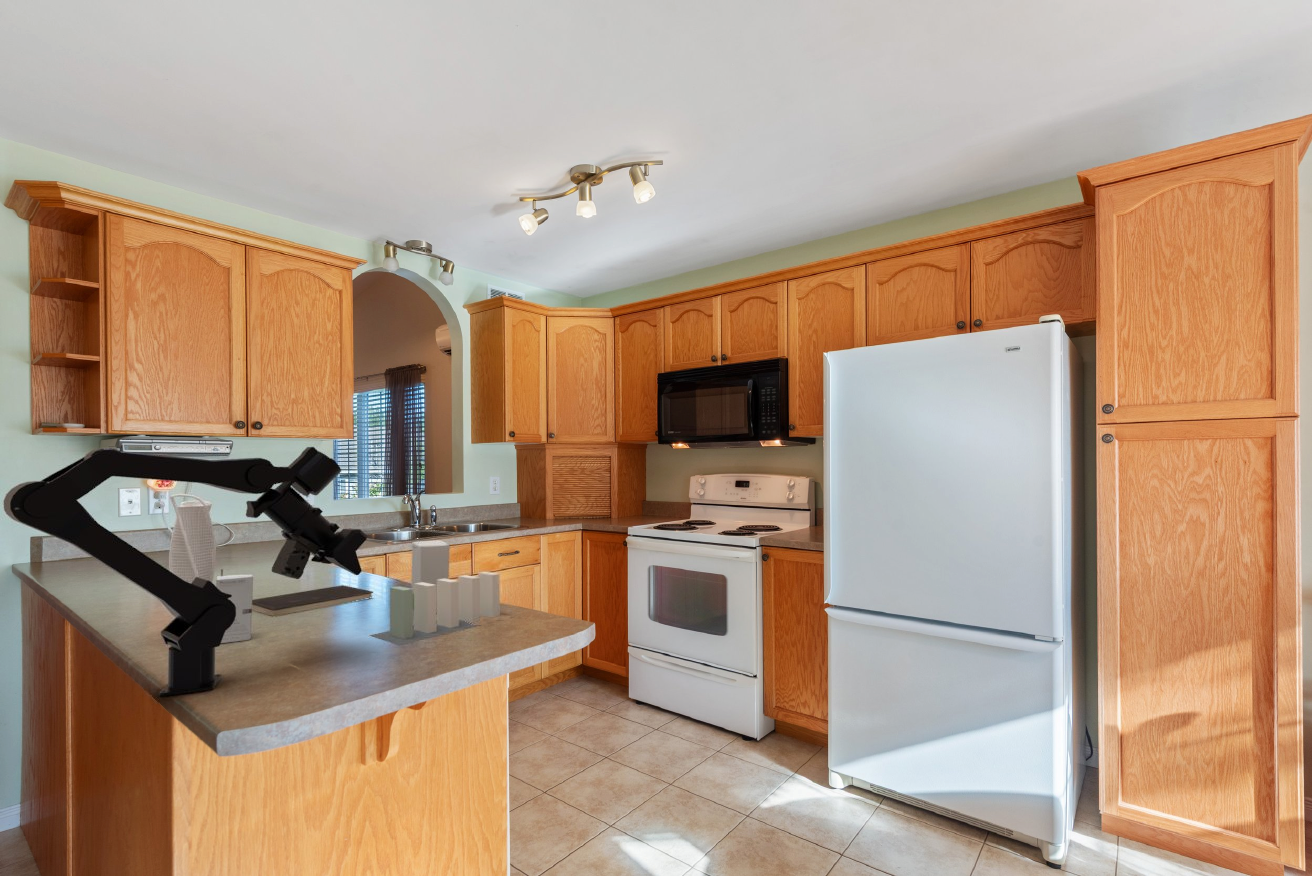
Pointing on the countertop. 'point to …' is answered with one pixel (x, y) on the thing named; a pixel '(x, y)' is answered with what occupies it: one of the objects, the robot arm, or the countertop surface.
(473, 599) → the domino
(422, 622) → the domino
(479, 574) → the domino
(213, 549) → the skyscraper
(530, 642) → the countertop surface
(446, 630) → the mat
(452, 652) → the countertop surface
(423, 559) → the skincare box
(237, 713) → the countertop surface
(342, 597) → the hardcover book
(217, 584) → the skincare box
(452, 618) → the domino
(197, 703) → the countertop surface
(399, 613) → the domino
